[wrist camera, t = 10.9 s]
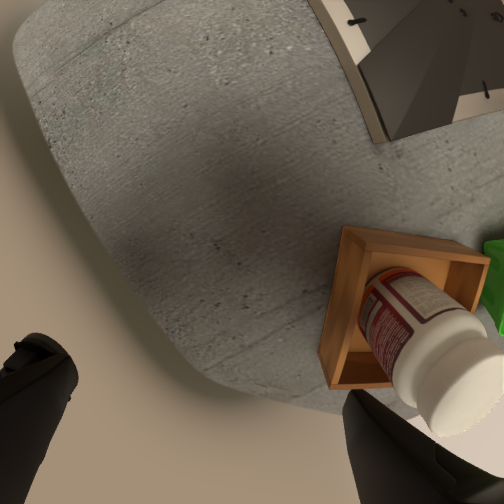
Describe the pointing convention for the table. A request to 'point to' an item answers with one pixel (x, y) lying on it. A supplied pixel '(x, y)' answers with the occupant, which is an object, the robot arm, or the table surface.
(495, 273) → the fruit basket
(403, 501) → the robot arm
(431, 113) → the picture frame
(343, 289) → the oak box
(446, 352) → the pill bottle
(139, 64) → the table surface
